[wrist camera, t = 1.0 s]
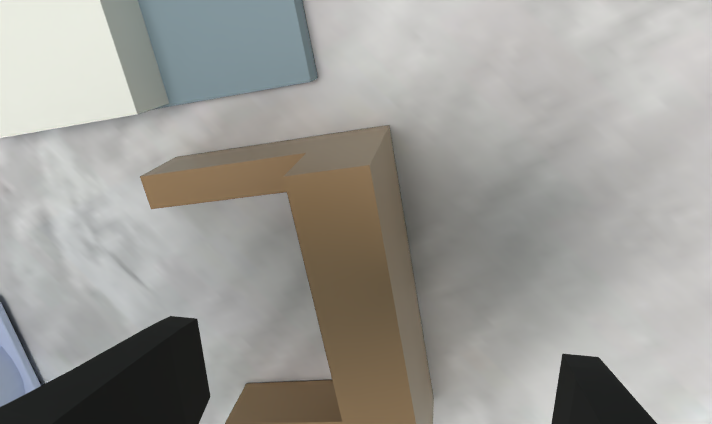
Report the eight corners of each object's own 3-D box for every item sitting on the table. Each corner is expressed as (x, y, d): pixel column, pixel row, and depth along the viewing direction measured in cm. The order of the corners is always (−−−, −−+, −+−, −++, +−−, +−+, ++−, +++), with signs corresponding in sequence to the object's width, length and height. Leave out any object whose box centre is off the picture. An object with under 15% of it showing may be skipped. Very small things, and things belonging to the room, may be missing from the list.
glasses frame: (252, 404, 24) (206, 498, 19) (175, 157, 20) (93, 201, 15) (433, 398, 22) (430, 501, 17) (389, 125, 18) (369, 164, 13)
